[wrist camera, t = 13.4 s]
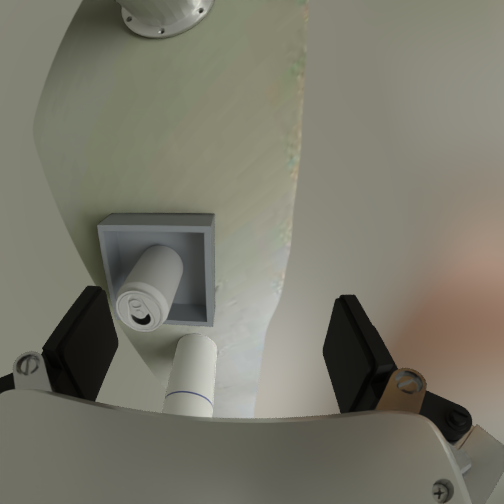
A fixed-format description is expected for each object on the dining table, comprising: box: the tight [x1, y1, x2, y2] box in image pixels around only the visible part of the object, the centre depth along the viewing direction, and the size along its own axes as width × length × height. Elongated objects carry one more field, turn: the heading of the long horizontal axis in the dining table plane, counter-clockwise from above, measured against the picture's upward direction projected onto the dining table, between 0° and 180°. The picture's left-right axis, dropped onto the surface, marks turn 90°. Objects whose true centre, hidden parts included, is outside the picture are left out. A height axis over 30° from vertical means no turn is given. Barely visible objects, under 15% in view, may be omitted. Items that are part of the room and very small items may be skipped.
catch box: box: [97, 213, 215, 327], centre depth 39 cm, size 15×15×5 cm
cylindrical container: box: [162, 334, 217, 417], centre depth 37 cm, size 7×7×25 cm
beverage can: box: [116, 245, 183, 332], centre depth 35 cm, size 6×6×12 cm
